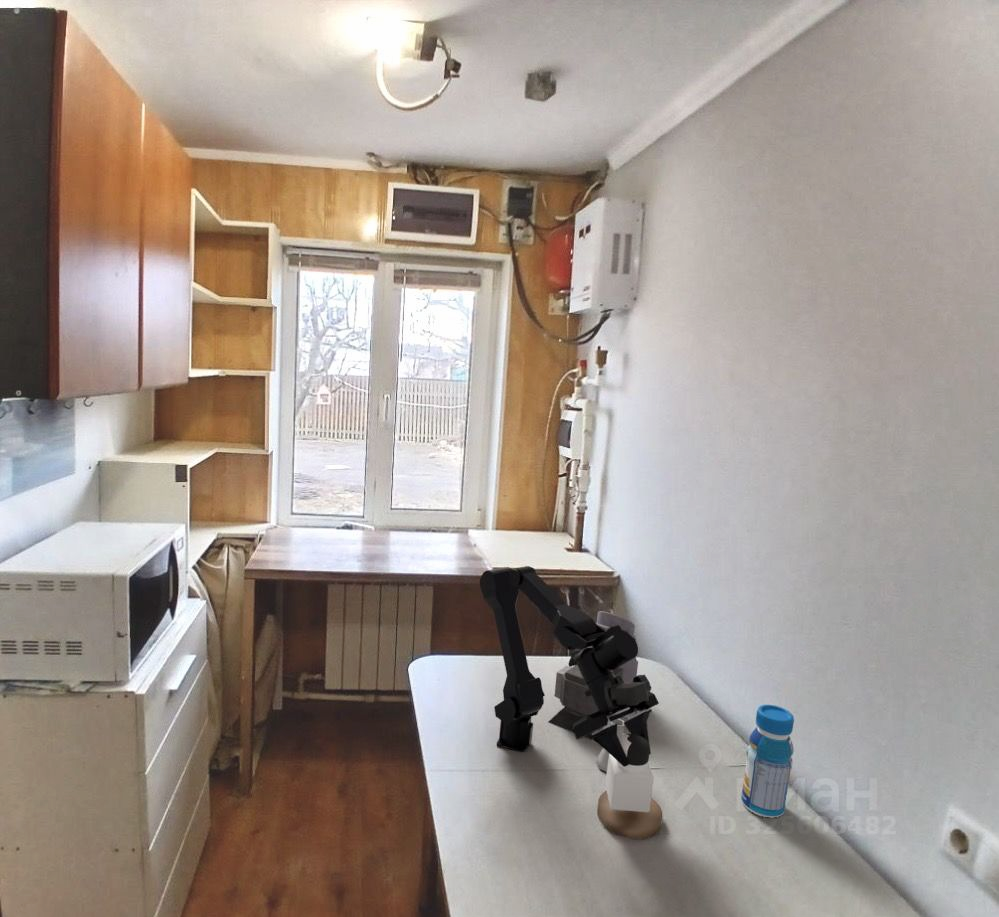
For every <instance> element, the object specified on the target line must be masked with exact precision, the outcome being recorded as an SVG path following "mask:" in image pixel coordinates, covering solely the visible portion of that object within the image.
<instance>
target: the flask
mask: <svg viewBox="0 0 999 917" xmlns="http://www.w3.org/2000/svg"><path fill="white" fill-rule="evenodd" d="M624 722H625V720H624V719H621V718H619V719H617V720H614V721H612V722H611V724H612V725H615V724H617V736H618V737H620V736H621V735H623V734H624V728H625V727H626V726H625V724H624ZM608 758H609V752H607V751H606V750H605V749H604V748H603V747H602V749H601V751H600V752H599V754H598V756H597V758H596V760H595V762H596V765H597V767H598V769H599V770H601V771H603V772H606V773H607V767H608Z"/></svg>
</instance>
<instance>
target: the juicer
mask: <svg viewBox="0 0 999 917" xmlns="http://www.w3.org/2000/svg"><path fill="white" fill-rule="evenodd" d="M595 623H596V624H597V625H599V626H600V627H602V628H603V629H605V630H606V631H607V630H608V629H609V628H610V627H612V626H615V625H619V626H620V628H621V630H623V631H626V632H627V633H629V634H630V635H631V636H632V637H633V638H634V639H635V640H636V641H637V637H636V635H635V624H634V622H632V621H630V620H629V619H627V618H625V617H622V616H620V615H617V614H615V613H611V612H608V611H603V610H602V611H601V610H600V611H597V617H596V622H595ZM587 648H593V647H592V646H590V647H587ZM638 666H639V661H638V660H637V656H636V657H635V658H633V659H632V660H630V661H628V662H627V663H625V664H624V665H622V666H620V667H619V668H617V669H615V670H612V672H613V674H614V676H615V677H617V676H620V677H621V678H622V679H623V682H624V683H629V682H631V681H633V678H634V677H635V676H638V668H639V667H638ZM554 686H555V687H554V695H553V696H554V697H555V698H557V699H559V702H560V704H561V705H562V706H563V708H562V709H560V710H559V711H558V712H557V713H556V714H555V715H554V716H552V717H551V719H549V720H548V722H547V723H549V724H551V725H553V726H556V727H558V728H561V729H563V730H566V731H567V732H570V733H573V734H574V732H573V726H574V723H575V722H577V721H579V720H581V719H583V718H584V717H586V716H588V715H590V714H593V713H595V712H597V711H598V710H597V707H596V705H595V703H594V701H593V699H592V697H591V696H589V697H587V696H586V694H585V692H586V691H588V688H587V686H586V683H585V681H584V679H583V677H582V675H581V672H580V670H579V668H578V666H577V665H574V666H571V667H570V666H569V665H565V666H564V667H563V668H561V669H559V670H558V671H556V676H555V685H554ZM619 711H621V710H619ZM619 711H618V712H619ZM609 714H610V715H611V714H612V712H611V713H609ZM590 736H592V733H589V735H587V736H585V737H584V738H585V739H588V737H590ZM588 740H589V739H588ZM590 741H593V740H592V739H591V740H590Z"/></svg>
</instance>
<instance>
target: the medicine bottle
mask: <svg viewBox="0 0 999 917" xmlns="http://www.w3.org/2000/svg"><path fill="white" fill-rule="evenodd" d="M618 739H619V741H620V743H621V746H622V748H623V750H624V753H625V755H626V758H627V761H628V766H625V767H624V766H623V765H621V764H620V763H619V762H618V761H617V760H616V759H615V758H614V757H613V756H612V755H611V754H610V753H609V758H608V767H607V772H606V777H605V784H604V785H605V791H607V795H608V799H609V803H610V807H611V809H614V810H626V811H638V812H649V810H650V803H651V798H652V794H653V787H654V779H655V778H654V774H653V771H652V769H651V766H650V763H649V759H650V755H649V753H650V750H651V744H649V743H650V742H649V743H648V741H647V740H646V739H645V738H643V737H641V736H639V735H636V734H631V733H623V735H621V736H620V737H618Z"/></svg>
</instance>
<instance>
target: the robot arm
mask: <svg viewBox="0 0 999 917" xmlns="http://www.w3.org/2000/svg"><path fill="white" fill-rule="evenodd" d="M479 586H480V590H481V593H482V595H483V599H484V601H485V602H486V604H488V606H489V607H490V608H491V609H492V610H493V614H494V618H495V624H496V629H497V632H498V633H497V634H498V639H499V642H500V647H501V652H502V657H503V662H504V668H505V672H506V677H505V681H504V685H503V688H502V689H503V690H502V693H503V694H502V695H503V696H502V697H503V700H502V701H501V702H500V703H498V704H496V705H495V706H494V708H493V709H494V714H495V715H494V716H495V717H496V718H497V719H498V720H500V723H499V724H500V726H499V737H498V739H497V741H496V746H498V747H502V748H507V749H509V750H514V751H519V752H523V753H524V752H526V750H527V748H528V747H529V746H530V744H531V743H532V739H533V730H534V722H532V717H534V716H538V714H539V712H540V710H542V707H543V706H544V704H545V702H544V700H545V699H544V697H545V696H546V695H545V692H544V690H543V686H542V685H543V684H542V680H541V678H540V677H535V675H533V673H532V672H531V671H530V668H529V664H528V659H527V654H526V650H525V644H524V641H523V637H522V635H523V634H522V632H521V627H520V623H519V619H518V618H519V617H518V614H517V608H516V604H517V602H518V597H519V594H520V591H521V593H522V594H523V595H524V596H525V597H526V598H527V599H528V600H529V601H530V602H531V603H532V604H533V605H534V606H535V607H536V608H537V610H539V612H540V613H542V615H543V616H544V617H545V618H546V619H547V620H548V621H549V623H550V624H551V629H552V633H553V635H554V636H555V638H556V639H557V641H559V642H558V643H559V644H560V645H561V646H562V647H563V648H564V649H565V650H568V651H571V650H572V652H571V653H570V657H569V658H570V659H569V661H568V665H567V666H569V667H574V666H575V665H577V666H578V668H579V670H580V672H581V675H582V677H583V679H584V681H585V683H586V686H587V688H588V691H586V692H585V694H586V696H587V697H589V696H591V697H592V699H593V701H594V703H595V705H596V707H597V710H598V711H597V712H595V713H593V714H590V715H588V716H586V717H584V718H583V719H581V720H579V721H577V722H575V723H574V726H573V732H574V733H573V732H572V733H573V734H574V736H575V738H576V740H580V739H583V738H585V736H587V735H589V733H592V736H590V737H588V740H589V741H594V742H595V743H596V744H597V745H599V746H600V747H601V748H602V749H603V748H604V749H605V750H606V751H607V752H609V753H610V754H611V755H612V756H613V757H614V758H615V759H616V760H617V761H618V762H619V763H620V764H621V765H623V766H624V767H625V766H628V761H627V758H626V755H625V753H624V750H623V748H622V746H621V743H620V741H619V739H618V736H617V724H615V725H612V724H611V722H612V721H614V720H617V719H621V718H623V717H625V718H626V720H625V721H624V724H625V726H624V727H626V729H627V731H628V732H629V734H636V735H639V736H641V737H643V738H645V739H646V740H647V741H648V743H649V744H650V737H649V731H648V718H649V716H650V713H653V712H652V711H653V709H651V708H653V707H655V706H656V705H657V706H658V705H659V704H660V702H659V701H658V698H657V696H656V694H655V693H653V692H651V691H652V685H651V683H650V681H649V679H648V678H647V676H646V674H637V676H635V677H634V678H633V681H631V682H629V683H624V682H623V679H622V678H621V677H620V676H617V677H615V676H614V674H613V672H612V670H615V669H617V668H619V667H620V666H622V665H624V664H625V663H627V662H628V661H630V660H632V659H633V658H635V657H636V658H637V655H638V653H639V647H638V643H637V639H636V640H635V639H634V638H633V637H632V636H631V635H630V634H629V633H627V632H626V631H623V630H621V628H620V626H619V625H615V626H612V627H610V628H609V629H608V630H607V631H606V630H605V629H603V628H602V627H600V626H599V625H597V624H596V623H597V622H596V621H595V619H594V618H592V617H591V616H589V615H588V614H586V613H585V612H584V611H583V610H580V609H578V608H576V607H572V606H570V605H569V604H567V603H566V602H565V601H564V600H563V599H562V598H561V597H560V595H558V594H557V593H556V592H555V591H554V590H553V589H552V588H551V587H550V586H549V585H548V584H547V583H546V582H545V581H544V580H543V579H542V578H541V577H540V576H539V575H538V574H537V572H536V570H535V568H534V567H533V566H528V565H525V566H519V567H515V568H512V567H509V566H505V567H501V568H495V569H494V568H493V569H487V570H485V571H483V573H482V574H481V577H480V578H479ZM590 646H592V647H593V648H587V647H590ZM582 649H583V650H582ZM573 650H574V651H573ZM575 650H576V651H575ZM580 650H581V651H580ZM619 710H621V711H619ZM618 711H619V712H618ZM611 712H612V714H611V715H610V714H609V713H611ZM591 739H592V740H591ZM650 745H651V744H650ZM650 755H652V752H651V749H650V753H649V756H650Z"/></svg>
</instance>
